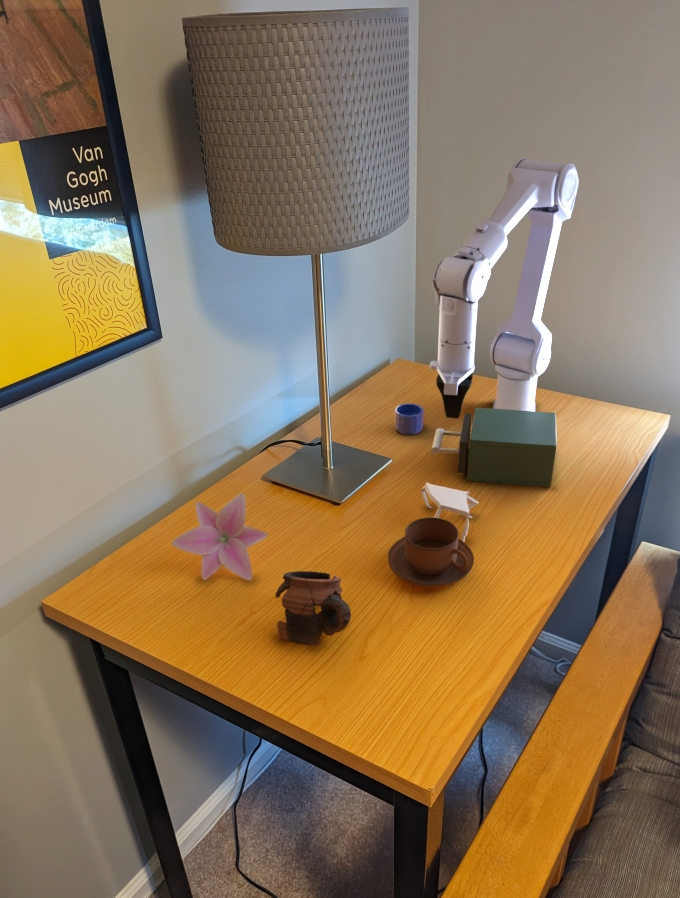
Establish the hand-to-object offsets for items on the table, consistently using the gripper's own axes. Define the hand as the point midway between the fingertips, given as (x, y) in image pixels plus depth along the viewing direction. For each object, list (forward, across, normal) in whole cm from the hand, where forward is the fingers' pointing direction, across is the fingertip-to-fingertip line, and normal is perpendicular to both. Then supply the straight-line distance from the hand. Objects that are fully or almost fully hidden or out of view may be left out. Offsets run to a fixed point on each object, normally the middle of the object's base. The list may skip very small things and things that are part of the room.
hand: (452, 416), depth 124 cm
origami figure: (+9, +18, +1) cm, 20 cm away
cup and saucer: (+9, +30, 0) cm, 31 cm away
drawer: (+8, 0, +6) cm, 10 cm away
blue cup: (+9, -11, -9) cm, 16 cm away
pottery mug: (+9, +44, -13) cm, 47 cm away
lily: (+9, +34, -29) cm, 45 cm away
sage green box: (+9, 0, +10) cm, 13 cm away
